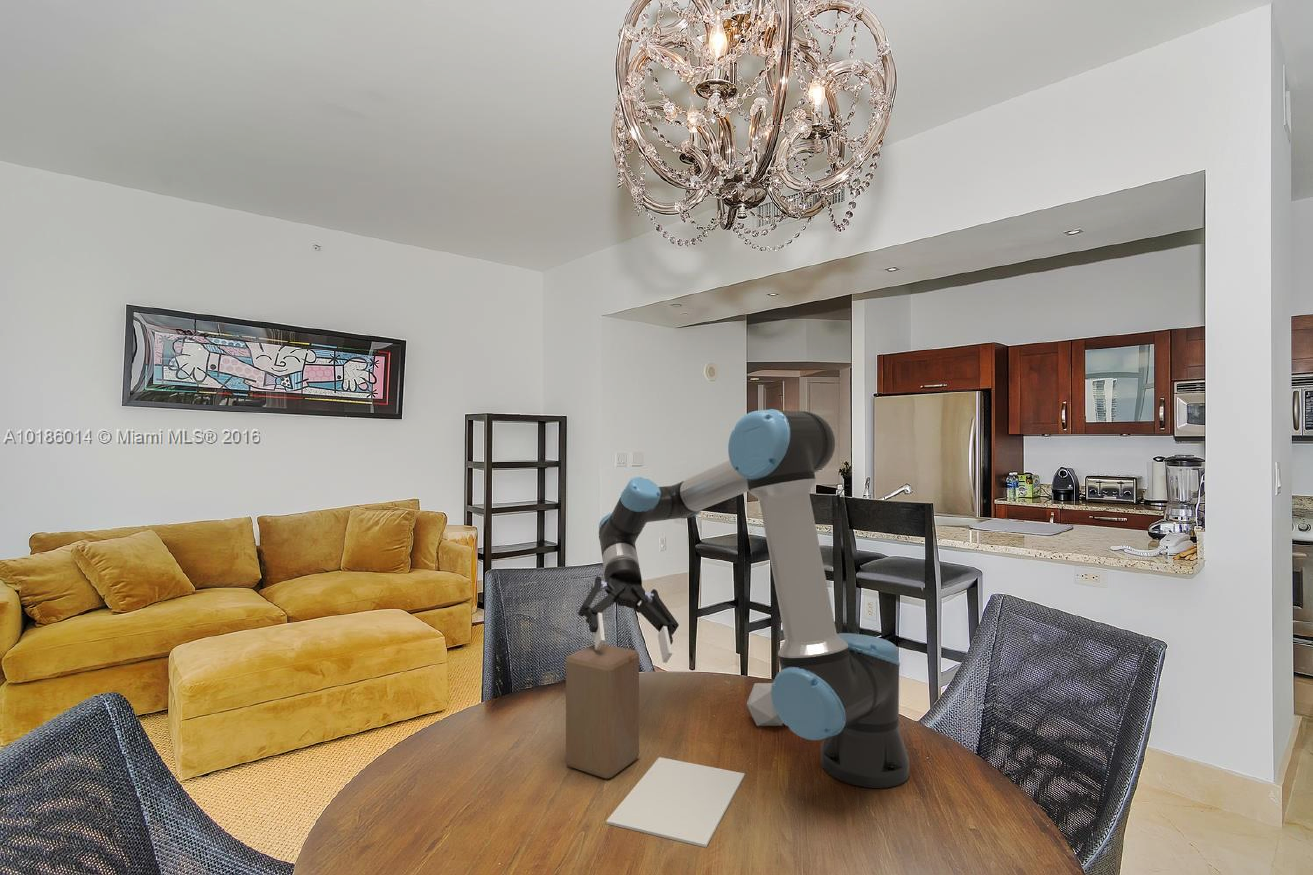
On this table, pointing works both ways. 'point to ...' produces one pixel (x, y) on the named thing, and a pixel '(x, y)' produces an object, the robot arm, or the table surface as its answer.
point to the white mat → (678, 801)
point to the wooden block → (602, 709)
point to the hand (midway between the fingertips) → (634, 651)
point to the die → (763, 706)
